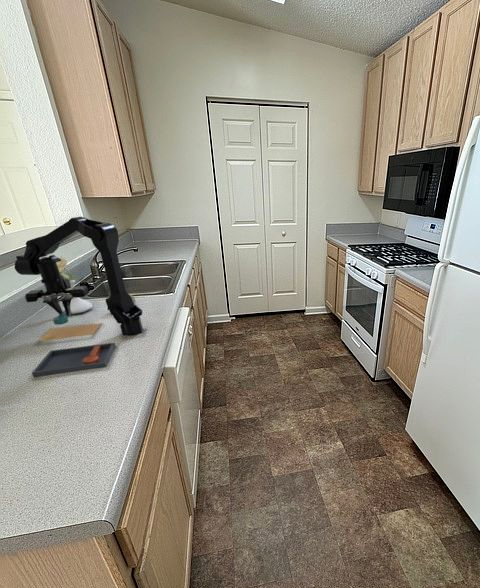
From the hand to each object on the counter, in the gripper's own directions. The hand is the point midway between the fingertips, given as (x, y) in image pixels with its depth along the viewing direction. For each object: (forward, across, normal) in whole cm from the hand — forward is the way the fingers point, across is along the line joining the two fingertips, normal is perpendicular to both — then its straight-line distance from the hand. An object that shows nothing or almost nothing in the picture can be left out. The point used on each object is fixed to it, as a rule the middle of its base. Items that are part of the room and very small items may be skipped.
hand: (65, 315), depth 125 cm
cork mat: (+7, 0, +2) cm, 7 cm away
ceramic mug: (+7, -16, -20) cm, 27 cm away
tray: (+7, -10, +28) cm, 30 cm away
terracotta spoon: (+6, -15, +28) cm, 32 cm away
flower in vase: (+7, +4, -24) cm, 26 cm away
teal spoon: (+1, 0, +2) cm, 2 cm away
